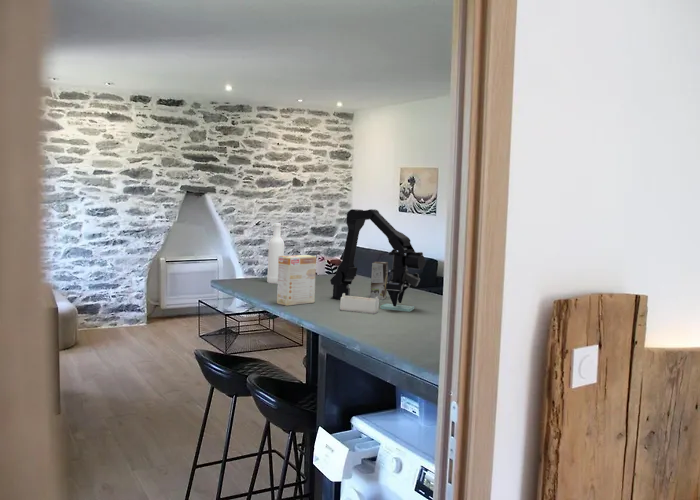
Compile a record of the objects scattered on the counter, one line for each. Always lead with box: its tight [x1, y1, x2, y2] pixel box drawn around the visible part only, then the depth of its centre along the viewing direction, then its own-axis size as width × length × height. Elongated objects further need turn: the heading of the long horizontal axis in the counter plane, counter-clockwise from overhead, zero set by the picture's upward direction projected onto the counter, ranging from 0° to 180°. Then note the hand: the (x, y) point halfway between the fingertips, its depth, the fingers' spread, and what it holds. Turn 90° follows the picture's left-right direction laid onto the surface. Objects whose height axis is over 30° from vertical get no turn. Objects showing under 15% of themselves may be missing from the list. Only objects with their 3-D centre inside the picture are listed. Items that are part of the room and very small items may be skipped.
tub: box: [339, 293, 380, 315], centre depth 242 cm, size 14×6×6 cm, turn 72°
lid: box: [379, 303, 415, 312], centre depth 252 cm, size 12×7×2 cm, turn 72°
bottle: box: [266, 222, 285, 285], centre depth 308 cm, size 8×8×30 cm
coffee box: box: [369, 261, 389, 301], centre depth 276 cm, size 9×6×16 cm
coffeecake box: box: [276, 254, 317, 307], centre depth 252 cm, size 15×7×20 cm, turn 134°
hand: (397, 304), depth 252 cm, fingers open, 9 cm apart
